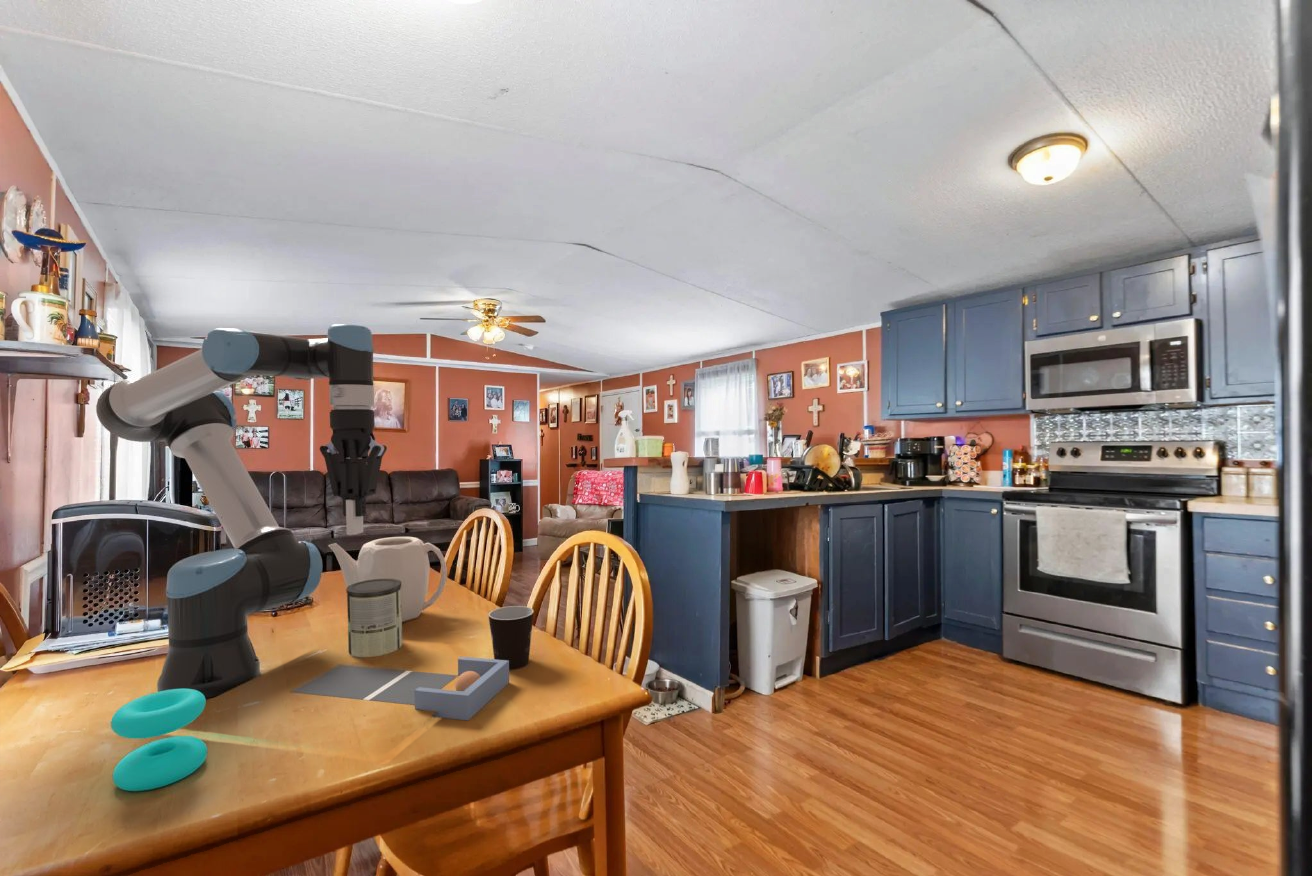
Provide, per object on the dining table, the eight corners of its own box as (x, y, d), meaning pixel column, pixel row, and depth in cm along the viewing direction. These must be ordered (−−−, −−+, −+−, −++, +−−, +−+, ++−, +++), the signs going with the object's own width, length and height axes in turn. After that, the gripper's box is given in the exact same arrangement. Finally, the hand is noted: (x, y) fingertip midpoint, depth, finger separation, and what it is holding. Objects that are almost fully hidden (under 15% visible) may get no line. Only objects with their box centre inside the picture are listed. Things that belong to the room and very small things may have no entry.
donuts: (223, 687, 87) (155, 721, 77) (225, 756, 88) (158, 799, 78) (163, 682, 89) (89, 715, 79) (165, 750, 89) (92, 792, 79)
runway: (290, 697, 106) (290, 691, 106) (340, 669, 118) (340, 664, 118) (419, 711, 101) (419, 705, 101) (458, 680, 112) (458, 675, 112)
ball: (465, 671, 103) (479, 694, 103) (478, 662, 108) (491, 684, 107) (445, 684, 104) (459, 707, 103) (459, 675, 108) (472, 697, 108)
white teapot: (340, 612, 154) (338, 537, 153) (451, 604, 159) (450, 532, 158) (319, 633, 138) (316, 549, 138) (443, 624, 144) (441, 544, 143)
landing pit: (414, 714, 99) (414, 690, 99) (461, 677, 113) (461, 656, 113) (468, 720, 97) (467, 695, 97) (509, 682, 111) (508, 660, 111)
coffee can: (338, 654, 126) (337, 586, 125) (387, 640, 134) (386, 575, 133) (362, 666, 119) (360, 594, 119) (412, 651, 127) (411, 583, 127)
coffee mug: (523, 673, 115) (522, 620, 115) (481, 670, 117) (480, 618, 117) (546, 650, 127) (546, 602, 126) (507, 647, 128) (507, 600, 128)
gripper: (307, 408, 113) (310, 536, 114) (369, 407, 110) (372, 538, 111) (336, 409, 120) (339, 528, 121) (395, 408, 118) (398, 531, 118)
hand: (355, 533), depth 116 cm, fingers closed
